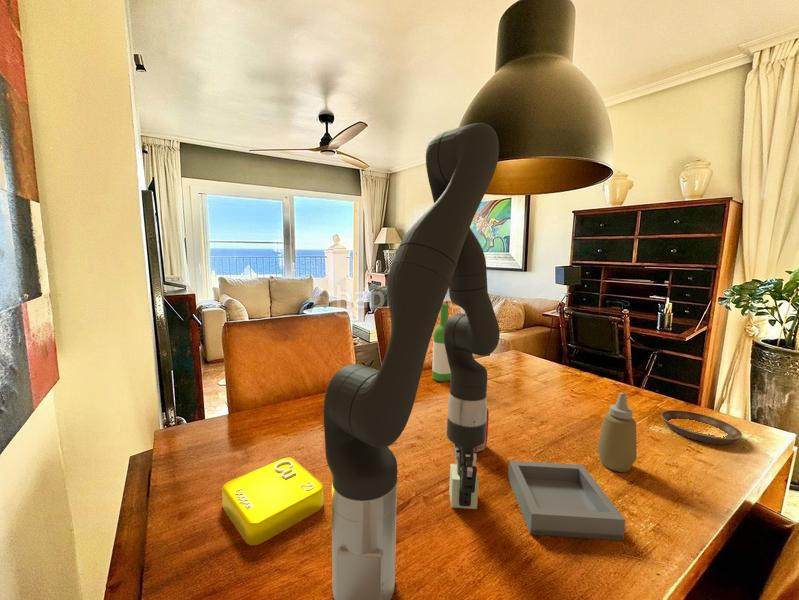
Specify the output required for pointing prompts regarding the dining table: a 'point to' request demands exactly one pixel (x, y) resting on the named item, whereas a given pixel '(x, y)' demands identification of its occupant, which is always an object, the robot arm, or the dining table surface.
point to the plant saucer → (727, 428)
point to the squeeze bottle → (618, 437)
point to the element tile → (271, 499)
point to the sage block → (455, 489)
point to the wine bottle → (440, 350)
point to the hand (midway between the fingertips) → (462, 494)
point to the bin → (564, 501)
